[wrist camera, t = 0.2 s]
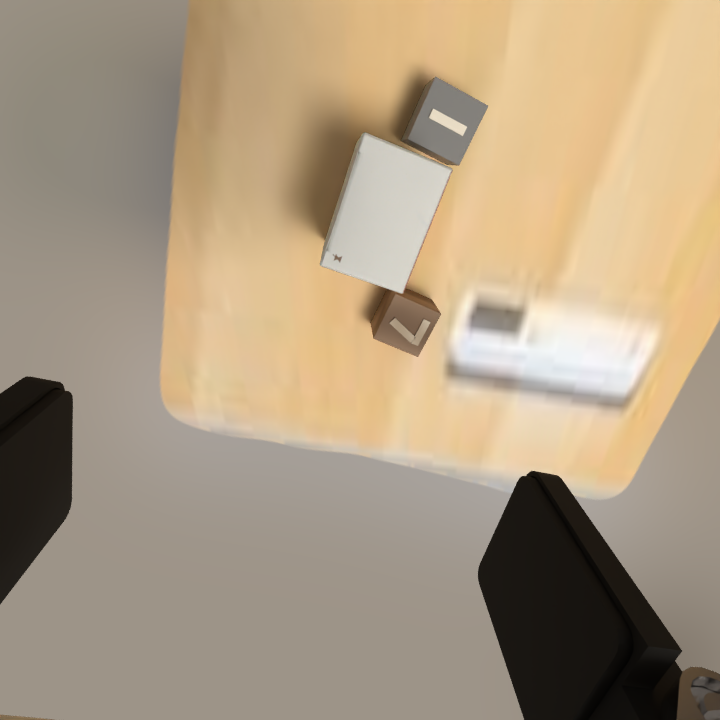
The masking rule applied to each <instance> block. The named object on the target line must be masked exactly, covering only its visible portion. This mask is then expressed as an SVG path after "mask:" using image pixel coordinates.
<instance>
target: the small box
mask: <svg viewBox="0 0 720 720" xmlns="http://www.w3.org/2000/svg"><path fill="white" fill-rule="evenodd" d="M452 171H453V170H452V168H450V167H448V166H445V165H443V164H441V163H438V162H436V161H434V160H431V159H429V158H427V157H424V156H422V155H419V154H417V153H415V152H412V151H410V150H407V149H405V148H403V147H400V146H398V145H395V144H393V143H391V142H388V141H386V140H383V139H381V138H378V137H376V136H373V135H371V134H369V133H366V132H364V133H363V134H362V135H361V137H360V138H359V140H358V141H357V143H356V146H355V149H354V152H353V155H352V158H351V161H350V164H349V168H348V171H347V174H346V177H345V180H344V183H343V186H342V189H341V193H340V196H339V199H338V202H337V205H336V208H335V211H334V214H333V217H332V220H331V223H330V226H329V229H328V233H327V236H326V239H325V242H324V246H323V251H322V257H321V262H320V266H322V267H325V268H328V269H331V270H334V271H337V272H340V273H343V274H346V275H348V276H351V277H354V278H357V279H360V280H363V281H366V282H369V283H372V284H375V285H378V286H381V287H383V288H386V289H389V290H392V291H395V292H398V293H404V290H405V288H406V285H407V283H408V280H409V278H410V275H411V273H412V270H413V268H414V265H415V263H416V260H417V258H418V255H419V253H420V250H421V248H422V245H423V243H424V240H425V238H426V235H427V233H428V230H429V228H430V225H431V223H432V220H433V218H434V215H435V213H436V210H437V208H438V205H439V203H440V200H441V198H442V195H443V193H444V190H445V188H446V185H447V183H448V180H449V178H450V175H451V173H452Z"/></svg>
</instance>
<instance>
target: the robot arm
mask: <svg viewBox="0 0 720 720" xmlns="http://www.w3.org/2000/svg"><path fill="white" fill-rule="evenodd" d="M72 413H73V399H72V394H71V393H70V392H69V391H65V389H64V386H63V384H62V383H60V382H56V381H51V380H46V379H40V378H35V377H25V378H23V379H21V380H20V381H18V382H17V383H15V384H14V385H12V386H11V387H9V388H8V389H7V390H5V391H4V392H2V393H1V394H0V604H1V603H2V601H3V600H4V599H5V597H6V596H7V595H8V593H9V592H10V591H11V589H12V588H13V587H14V585H15V584H16V583H17V582H18V580H19V579H20V578H21V576H22V575H23V574H24V572H25V571H26V570H27V569H28V567H29V566H30V565H31V563H32V562H33V561H34V559H35V558H36V557H37V556H38V554H39V553H40V551H41V550H42V549H43V548H44V546H45V545H46V544H47V543H48V541H49V540H50V539H51V537H52V536H53V535H54V533H55V532H56V531H57V529H58V528H59V527H60V525H61V524H62V523H63V522H64V520H65V519H66V517H67V515H68V513H69V510H70V507H71V502H72V419H73V416H72V415H73V414H72ZM478 580H479V584H480V587H481V590H482V593H483V597H484V599H485V602H486V605H487V609H488V612H489V614H490V618H491V621H492V624H493V627H494V630H495V633H496V636H497V639H498V641H499V645H500V648H501V651H502V654H503V657H504V660H505V663H506V666H507V669H508V672H509V675H510V678H511V681H512V684H513V687H514V690H515V693H516V696H517V699H518V702H519V705H520V708H521V711H522V714H523V717H524V720H720V674H718V673H717V672H714V671H711V670H708V669H705V668H702V667H690V668H687V669H686V670H684V671H681V669H680V668H679V666H678V665H677V663H676V662H675V660H676V658H677V657H678V656H679V654H680V653H681V652H682V650H681V649H680V647H679V646H678V644H677V643H676V641H675V640H674V639H673V637H672V636H671V634H670V633H669V632H668V630H667V629H666V627H665V626H664V624H663V623H662V622H661V620H660V619H659V617H658V616H657V614H656V613H655V611H654V610H653V609H652V607H651V606H650V604H649V603H648V602H647V600H646V599H645V597H644V596H643V594H642V593H641V592H640V590H639V589H638V587H637V586H636V584H635V583H634V582H633V580H632V579H631V577H630V576H629V574H628V573H627V572H626V570H625V569H624V567H623V566H622V565H621V563H620V562H619V560H618V559H617V557H616V556H615V554H614V553H613V552H612V550H611V549H610V547H609V546H608V544H607V543H606V542H605V540H604V539H603V537H602V536H601V534H600V533H599V532H598V530H597V529H596V527H595V526H594V525H593V523H592V522H591V520H590V519H589V517H588V516H587V515H586V513H585V512H584V510H583V509H582V507H581V506H580V505H579V503H578V502H577V500H576V499H575V497H574V496H573V494H572V493H571V492H570V490H569V489H568V487H567V486H566V484H565V483H564V482H563V480H562V479H561V478H560V477H559V476H557V475H552V474H547V473H541V472H536V471H531V472H529V473H528V474H527V475H526V476H522V477H521V478H519V480H518V482H517V484H516V486H515V488H514V491H513V493H512V495H511V497H510V499H509V501H508V504H507V506H506V508H505V510H504V513H503V515H502V517H501V519H500V521H499V523H498V526H497V528H496V530H495V532H494V534H493V537H492V539H491V541H490V543H489V545H488V547H487V550H486V552H485V554H484V556H483V558H482V561H481V563H480V566H479V570H478ZM0 720H52V719H42V718H31V717H21V716H9V715H0Z"/></svg>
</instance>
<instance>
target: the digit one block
mask: <svg viewBox="0 0 720 720" xmlns="http://www.w3.org/2000/svg"><path fill="white" fill-rule="evenodd" d="M487 108H488V105H486V104H484V103H482V102H480V101H479V100H477V99H475V98H473V97H471V96H470V95H468V94H466V93H464V92H462V91H460V90H459V89H457V88H455V87H453V86H451V85H450V84H448V83H446V82H444V81H442V80H441V79H439V78H437V77H435V78H433V79H432V80H431V81H430V82H429V83H428V84H427V85H425V88H424V90H423V92H422V94H421V97H420V99H419V101H418V103H417V106H416V108H415V110H414V112H413V115H412V117H411V119H410V121H409V124H408V126H407V128H406V131H405V133H404V135H403V137H402V140H401V141H402V142H404V143H406V144H408V145H410V146H411V147H413V148H415V149H417V150H419V151H421V152H423V153H425V154H427V155H429V156H431V157H433V158H435V159H437V160H439V161H441V162H443V163H445V164H446V165H459V164H460V162H461V160H462V158H463V156H464V154H465V152H466V150H467V148H468V146H469V144H470V142H471V140H472V138H473V136H474V134H475V132H476V130H477V128H478V126H479V124H480V122H481V120H482V118H483V116H484V114H485V112H486V110H487Z"/></svg>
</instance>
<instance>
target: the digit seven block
mask: <svg viewBox="0 0 720 720" xmlns="http://www.w3.org/2000/svg"><path fill="white" fill-rule="evenodd" d="M440 315H441V313H440V311H439V310H438V308H437V307H436V305H435V304H434V302H433V301H432V300H431V299H429V298H426V297H424V296H422V295H420V294H417V293H415V292H413V291H411V290H408V289H406V288H405V290H404V293H398V292H395V291H392V290H389V289H387V290H386V292H385V294H384V296H383V298H382V300H381V302H380V305H379V307H378V309H377V311H376V313H375V315H374V317H373V319H372V321H371V327H372V333H373V338H374V339H376V340H378V341H381V342H383V343H385V344H388V345H390V346H393V347H395V348H397V349H400V350H402V351H405V352H407V353H409V354H412V355H414V356H417V357H418V356H419V354H420V352H421V350H422V349H423V347H424V345H425V343H426V341H427V339H428V337H429V336H430V334H431V332H432V330H433V328H434V326H435V324H436V323H437V321H438V319H439V317H440Z"/></svg>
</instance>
